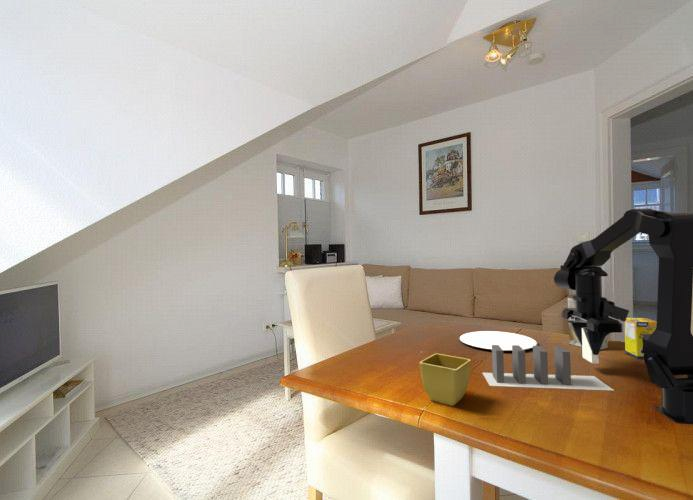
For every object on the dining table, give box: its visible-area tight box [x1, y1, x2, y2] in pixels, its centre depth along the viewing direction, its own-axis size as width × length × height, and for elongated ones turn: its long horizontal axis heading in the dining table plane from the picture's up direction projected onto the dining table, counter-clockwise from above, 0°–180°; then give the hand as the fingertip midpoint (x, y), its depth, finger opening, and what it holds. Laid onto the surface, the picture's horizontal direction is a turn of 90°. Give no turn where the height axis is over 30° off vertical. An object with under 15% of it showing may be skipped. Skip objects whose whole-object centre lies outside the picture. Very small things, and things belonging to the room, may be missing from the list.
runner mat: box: [482, 372, 615, 391], centre depth 87 cm, size 9×27×1 cm, turn 80°
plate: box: [459, 330, 538, 352], centre depth 123 cm, size 25×25×2 cm
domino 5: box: [581, 328, 600, 364], centre depth 92 cm, size 5×2×8 cm, turn 170°
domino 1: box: [491, 345, 505, 383], centre depth 89 cm, size 5×2×8 cm, turn 170°
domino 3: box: [532, 345, 549, 385], centre depth 87 cm, size 5×2×8 cm, turn 170°
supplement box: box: [623, 317, 657, 360], centre depth 104 cm, size 6×6×11 cm
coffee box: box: [567, 296, 609, 351], centre depth 116 cm, size 9×6×16 cm
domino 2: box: [511, 345, 527, 384], centre depth 88 cm, size 5×2×8 cm, turn 170°
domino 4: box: [553, 345, 572, 386], centre depth 86 cm, size 5×2×8 cm, turn 170°
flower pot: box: [419, 352, 472, 407], centre depth 78 cm, size 9×9×9 cm
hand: (590, 351), depth 92 cm, fingers closed on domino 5, 5 cm apart
